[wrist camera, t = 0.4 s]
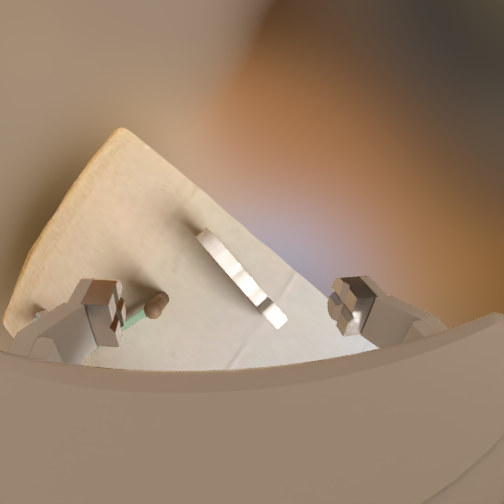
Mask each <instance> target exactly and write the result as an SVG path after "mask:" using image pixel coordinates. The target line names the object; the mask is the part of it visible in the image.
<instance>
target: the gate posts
mask: <svg viewBox="0 0 504 504" xmlns="http://www.w3.org/2000/svg"><path fill="white" fill-rule="evenodd" d="M168 302H169V297H168V295H167V294H166V293H164V292H160V293H159V294H157V295H156V296H155V297H154V298H153V299H152V300H151V301H148V302H147V303H146V304H145V306H144V313H145V315H146V316H147V317H148V318H151V319H156V318H158V317H159V316H160V315H161V313H162V310H163V309H164V307H165V306H166V305H167V303H168Z"/></svg>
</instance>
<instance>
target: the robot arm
mask: <svg viewBox="0 0 504 504" xmlns="http://www.w3.org/2000/svg"><path fill="white" fill-rule="evenodd" d="M332 288H333V290H334V292H333V293H332V294H331V295H330V296H329V300H328V312H329V315H330V316H331V318H332V319H334V320H335V321H337V325H336V326H337V327H338V329H339V331H340V332H341V334H342V335H343V336H349V335H357V334H361V335H362V336H363V337H364V338H366V339H367V340H369V341H370V342H371V343H373V344H374V345H376V346H377V347H378V348H380V349H375V350H371V351H366V352H361V353H356V354H351V355H346V356H341V357H335V358H329V359H323V360H317V361H310V362H304V363H296V364H288V365H280V366H270V367H260V368H247V369H232V370H212V371H144V370H125V369H111V368H100V367H90V366H81V364H82V363H83V362H84V361H85V359H86V358H87V357H88V356H89V355H90V354H91V353H92V352H93V351H94V350H95V349H96V348H97V346H108V347H119V345H120V341H121V337H122V331H121V328H122V327H123V326H124V324H125V319H126V308H125V301H124V300H123V299H122V297H121V294H122V291H123V290H122V285H121V282H120V280H112V279H94V278H83V279H81V280H80V281H79V283H78V285H77V287H76V288H75V290H74V292H73V294H72V296H71V297H70V299H69V301H68V303H63V304H62V305H60V306H58V307H57V308H55V309H53V310H52V311H50V312H49V313H47V314H45V315H44V316H42V317H41V318H39V319H37V320H36V321H34V322H33V323H31V324H30V325H28V326H26V327H25V328H23V329H22V330H20V331H19V332H18V333H17V335H16V336H15V338H14V340H13V342H12V344H11V346H10V348H9V350H8V351H7V352H3V351H0V504H504V315H503V314H500V313H491V314H489V315H487V316H484V317H482V318H479V319H476V320H474V321H471V322H468V323H466V324H463V325H460V326H457V327H454V328H451V329H447V328H446V327H445V326H444V325H443V324H442V323H441V321H440V320H439V319H438V318H437V317H436V316H434V315H432V314H430V313H428V312H425V311H424V310H421V309H419V308H417V307H415V306H413V305H410V304H408V303H406V302H404V301H402V300H399V299H397V298H395V297H393V296H388V295H387V294H386V293H385V292H384V291H383V290H382V289H381V288H380V287H379V286H378V285H377V284H376V283H375V282H374V281H373V280H372V279H371V278H370V277H369V276H357V277H345V278H336V279H335V281H334V282H333V286H332Z"/></svg>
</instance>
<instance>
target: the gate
mask: <svg viewBox="0 0 504 504" xmlns="http://www.w3.org/2000/svg"><path fill="white" fill-rule="evenodd" d="M144 317H147V316H146V315H145V313H144V308H143V309H142V310H140V311H139V312H137V313H135V314H134V315H132V316H131V317H129V318H128V319H126V320H125V324H124V326H123V327H122V328H121V331H123V330H125V329H127V328H128V327H130V326H131V325H133V324H134V323H136V322H137V321H139V320H141V319H142V318H144ZM97 347H98V346H97Z"/></svg>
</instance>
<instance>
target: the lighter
mask: <svg viewBox="0 0 504 504" xmlns="http://www.w3.org/2000/svg"><path fill="white" fill-rule="evenodd" d="M47 313H48V312H47V311H46V310H43V311H40V312H37V313H36V315H35V317H34V319H33V321H32V323H33V322H34V321H36V320H37V319H39V318H41V317H42V316H44V315H45V314H47Z"/></svg>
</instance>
